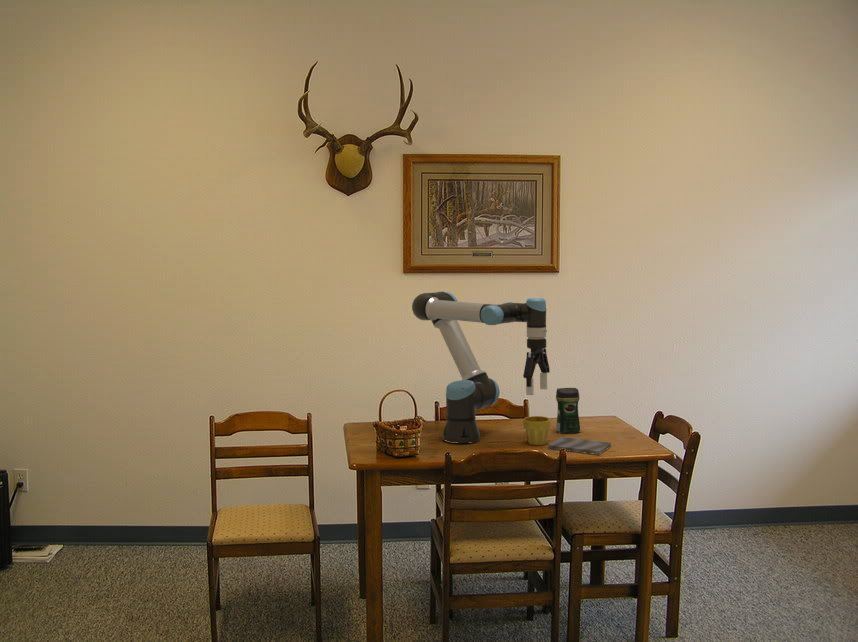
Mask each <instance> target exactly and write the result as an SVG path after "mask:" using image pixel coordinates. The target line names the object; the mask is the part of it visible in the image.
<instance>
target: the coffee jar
mask: <svg viewBox="0 0 858 642" xmlns="http://www.w3.org/2000/svg"><path fill="white" fill-rule="evenodd" d="M579 391H580V390H579V389H578V388H576V387H562V388H561V387H560V388H557V389H556V393H555V400H556V403H557V414H556V416H557V417H556V427H555V428H556V429H555V430H556V432H557V433H559V432H560V434H565V433H568V434H577V433H580V432H581V423H580V417H579V402H580V392H579Z"/></svg>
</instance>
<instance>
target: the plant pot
mask: <svg viewBox="0 0 858 642" xmlns="http://www.w3.org/2000/svg"><path fill="white" fill-rule="evenodd" d="M523 427H524V429H525V431H526V432H525V433H526V436H527V439H528V440H527V441H528V444H529V445H532V446H542V445H546V444H547V439H548V433H549V429H550V428H551V418H549V417H547V416H542V415H538V416H537V415H534V416H533V415H531V416H526V417H524V418H523Z"/></svg>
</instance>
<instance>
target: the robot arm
mask: <svg viewBox="0 0 858 642" xmlns="http://www.w3.org/2000/svg"><path fill="white" fill-rule="evenodd" d="M546 302H547V301H546V299H545V298H543V297H537V298H536V297H529V298H527V299H526V302H525V303H524V302H522V303H521V302H503V303H502V304H491V303H478V302H467V301H466V302H465V301H464V302H463V301H458V298H457V297H456V296H455V295H454V294H453V293H451V292H449V291H436V292H423V293H420V294H418V295H417V296H415V298H414V299H413V301H412V304H411V311H412V313H413V315H414V316H415V318H417V319H418V320H421V321H431V323H432V325H433V326H434V328H436V329H439V332H440V333H441V336H442V338H443V340H444V342H445V345H446V347H447V349H448V351H449V354H450V355H451V357H452V359H453V361H454V363H455V365H456V368H457V370H458V372H459V374H460V377H461V378H462V379H461V380H456V381H452V382H450V383H448V384H447V386H446V388H445V389H446V390H445V401H446V403H445V404H446V422H445V426H444V429H443V432H442V440H443V439H444V440H447V441H450V442H458V443H469V442H475V443H477V442H476V441H478V442H480V441H479V440H481V432H480V430H479V427H478V423H477V421H476V420H477V419H476V411H480V410H483V409H488V408H489V407H492V406H494V405H495V404H496V403H497V402H498V401H499V397H500V394H501V393H500V392H501V391H500V386H499V384H498V383H497V381H496V380H494V379H492V378H490V377H489V375H488V374H487V372H486V371H485V370H482V369H481V367H480V365H479V363H478V361H477V360H476V357H475V355H474V352H473V351H472V349H471V346H470V345H469V344H470V343H468V341H467V338H466V336H465V334H464V331H463V330H462V328H461V325H460V323H459V322H469V323H470V322H471V323H481V324H484V325H486V326H497V325H500V324H501V325H502V324H509V323H526V338H527V339H526V347H527V349H530V351H527V352H526V359H525V365H524V369H523V375H522V376H523V378H524V379H525V390H526V391H525V392H526V393H525V395H526V396H534V388H535V387H534V378H533V377H534V373H535V369H536V366H537V364H538V367H539V370H540V373H539V389H540V390H548V374H549V373H550V372H551V371H550V364H549V360H548V356H547V339H546V337H547V332H548V330H547V303H546Z"/></svg>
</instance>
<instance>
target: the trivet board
mask: <svg viewBox="0 0 858 642" xmlns="http://www.w3.org/2000/svg"><path fill="white" fill-rule="evenodd" d="M610 446H611V447H612V442H607V441H601V440H600V441H597V440H592V439H583V438H573V437H564V436H561V437H558V438H557V439H555V440H554V441H552V442H551V443H549V444H547V450H553V451H554V450H555V451H560V449H562V448H563V449H566V450H568V451H569V450H570V451H577V452H586V453H594V454H600V453H602V452H603V451H604V452H606V451H607V450H608V449H610V448H611V447H610ZM609 447H610V448H609ZM607 448H608V449H607ZM606 449H607V450H606ZM605 450H606V451H605ZM568 451H567V452H568ZM604 452H603V453H604ZM603 453H602V454H603ZM600 455H601V454H600Z"/></svg>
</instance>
